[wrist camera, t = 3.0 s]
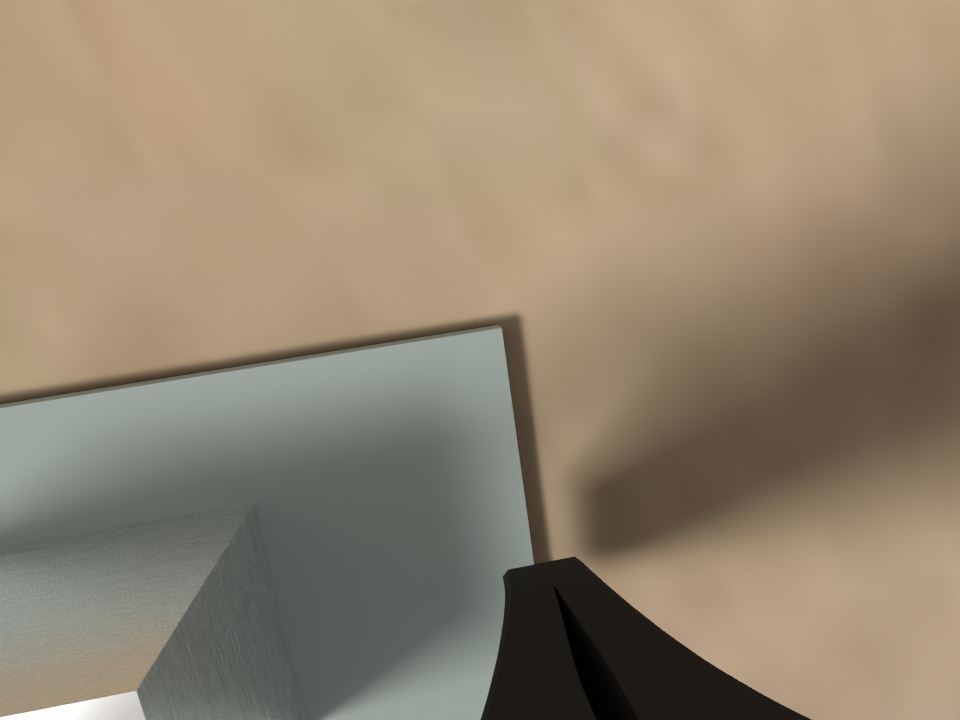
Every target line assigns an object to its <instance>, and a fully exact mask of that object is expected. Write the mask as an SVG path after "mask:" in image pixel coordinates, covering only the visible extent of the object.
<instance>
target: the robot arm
mask: <svg viewBox="0 0 960 720" xmlns="http://www.w3.org/2000/svg"><path fill="white" fill-rule="evenodd" d="M503 582H504V588H505V607H504V619H503V626H502V632H501V638H500V644H499V650H498V655H497V660H496V664H495V668H494V672H493V676H492V680H491V685H490V689H489V693H488V696H487V700H486V703H485V707H484V710H483V713H482V717H481V720H811V719H809V718H807V717H805V716H803V715H801V714H799V713H797V712H795V711H793V710H791V709H789V708H787V707H785V706H783V705H781V704H779V703H777V702H775V701H774V700H772V699H770V698H768V697H766V696H764V695H762V694H761V693H759V692H757V691H755V690H754V689H752V688H750V687H749V686H747V685H745V684H743V683H742V682H740V681H738V680H737V679H735V678H733V677H732V676H730V675H728V674H726V673H725V672H723V671H721V670H720V669H718V668H716V667H715V666H713V665H712V664H710V663H709V662H707V661H706V660H704V659H702V658H701V657H699V656H698V655H697V654H695V653H694V652H692V651H691V650H689V649H688V648H687V647H685V646H684V645H682V644H681V643H679V642H678V641H677V640H675V639H674V638H673V637H671V636H670V635H668V634H667V633H666V632H664V631H663V630H662V629H660V628H659V627H658V626H657V625H655V624H654V623H653V622H651V621H650V620H649V619H648V618H646V617H645V616H644V615H643V614H641V613H640V612H639V611H638V610H636V609H635V608H634V607H633V606H631V605H630V604H629V603H628V602H626V601H625V600H624V599H623V598H622V597H621V596H619V595H618V594H617V593H616V592H615V591H614V590H612V589H611V588H610V587H609V586H608V585H607V584H606V583H604V582H603V581H602V580H601V579H600V578H599V577H598V576H597V575H596V574H594V573H593V572H592V571H591V570H590V569H589V568H588V567H587V566H586V565H585V564H584V563H582V562H581V561H580V560H579V559H577V558H576V557H571V558H566V559H560V560H555V561H550V562H545V563H540V564H534V565H529V566H524V567H519V568H513V569H508V570H507V572H506V573H505V574H504V575H503Z"/></svg>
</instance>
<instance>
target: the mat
mask: <svg viewBox="0 0 960 720" xmlns="http://www.w3.org/2000/svg"><path fill="white" fill-rule="evenodd" d="M250 503H254V504H255V508H256V512H257V516H258V520H259V524H260V528H261V532H262V536H263V540H264V544H265V548H266V552H267V556H268V560H269V564H270V568H271V572H272V576H273V580H274V583H275V587H276V591H277V595H278V599H279V603H280V607H281V611H282V615H283V619H284V623H285V627H286V631H287V635H288V639H289V643H290V647H291V651H292V655H293V659H294V663H295V667H296V671H297V675H298V679H299V683H300V686H301V690H302V694H303V698H304V702H305V706H306V710H307V714H308V718H309V720H481V717H482V713H483V710H484V707H485V703H486V700H487V696H488V693H489V689H490V685H491V680H492V676H493V672H494V668H495V664H496V660H497V655H498V650H499V644H500V638H501V632H502V626H503V619H504V607H505V588H504V582H503V575H504V574H505V573H506V572H507V570H508V569H513V568H519V567H524V566H529V565H534V560H533V552H532V545H531V538H530V530H529V523H528V516H527V508H526V501H525V494H524V487H523V479H522V472H521V465H520V457H519V450H518V443H517V435H516V428H515V421H514V414H513V406H512V399H511V392H510V384H509V377H508V370H507V362H506V355H505V348H504V340H503V333H502V328H501V327H500V326H499V325H494V326H488V327H482V328H475V329H469V330H463V331H457V332H450V333H444V334H438V335H431V336H425V337H419V338H413V339H406V340H400V341H394V342H388V343H381V344H375V345H369V346H363V347H356V348H350V349H344V350H337V351H331V352H325V353H319V354H312V355H306V356H300V357H294V358H287V359H281V360H275V361H269V362H262V363H256V364H250V365H243V366H237V367H231V368H225V369H218V370H212V371H206V372H200V373H193V374H187V375H181V376H175V377H168V378H162V379H156V380H149V381H143V382H137V383H131V384H124V385H118V386H112V387H106V388H99V389H93V390H87V391H81V392H74V393H68V394H62V395H55V396H49V397H43V398H37V399H30V400H24V401H18V402H12V403H5V404H0V548H1V547H6V546H12V545H18V544H23V543H29V542H35V541H40V540H46V539H52V538H57V537H63V536H69V535H74V534H80V533H86V532H91V531H97V530H103V529H108V528H114V527H120V526H126V525H131V524H137V523H143V522H148V521H154V520H160V519H165V518H171V517H177V516H182V515H188V514H194V513H199V512H205V511H211V510H216V509H222V508H228V507H233V506H239V505H245V504H250Z"/></svg>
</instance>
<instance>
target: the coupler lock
mask: <svg viewBox="0 0 960 720" xmlns="http://www.w3.org/2000/svg"><path fill="white" fill-rule="evenodd" d="M0 720H309V718H308V714H307V710H306V706H305V702H304V698H303V694H302V690H301V686H300V683H299V679H298V675H297V671H296V667H295V663H294V659H293V655H292V651H291V647H290V643H289V639H288V635H287V631H286V627H285V623H284V619H283V615H282V611H281V607H280V603H279V599H278V595H277V591H276V587H275V583H274V580H273V576H272V572H271V568H270V564H269V560H268V556H267V552H266V548H265V544H264V540H263V536H262V532H261V528H260V524H259V520H258V516H257V512H256V508H255V504H254V503H250V504H245V505H239V506H233V507H228V508H222V509H216V510H211V511H205V512H199V513H194V514H188V515H182V516H177V517H171V518H165V519H160V520H154V521H148V522H143V523H137V524H131V525H126V526H120V527H114V528H108V529H103V530H97V531H91V532H86V533H80V534H74V535H69V536H63V537H57V538H52V539H46V540H40V541H35V542H29V543H23V544H18V545H12V546H6V547H1V548H0Z"/></svg>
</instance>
